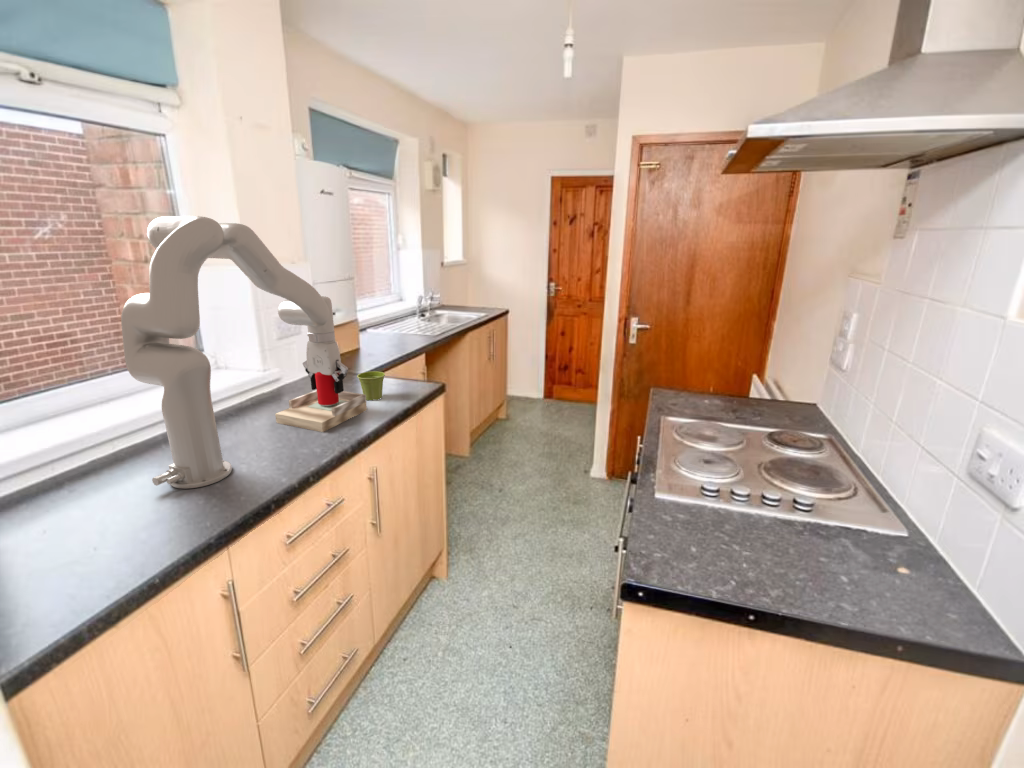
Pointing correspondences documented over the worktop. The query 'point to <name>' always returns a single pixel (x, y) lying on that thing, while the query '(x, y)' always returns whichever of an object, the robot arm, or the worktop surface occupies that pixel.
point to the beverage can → (326, 390)
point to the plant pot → (372, 384)
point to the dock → (321, 411)
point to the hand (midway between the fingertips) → (327, 390)
